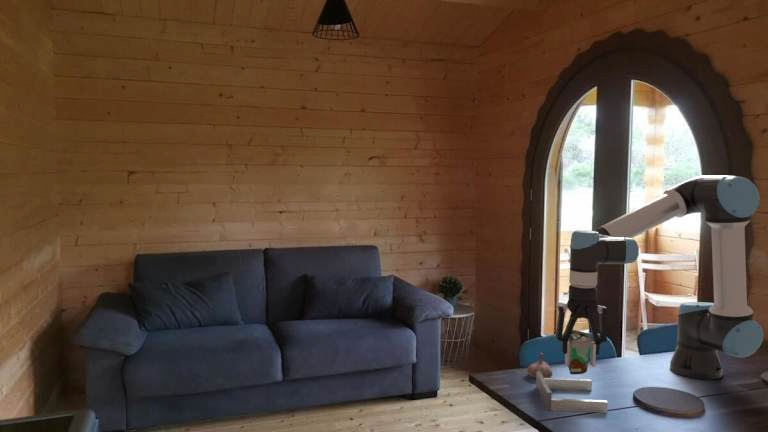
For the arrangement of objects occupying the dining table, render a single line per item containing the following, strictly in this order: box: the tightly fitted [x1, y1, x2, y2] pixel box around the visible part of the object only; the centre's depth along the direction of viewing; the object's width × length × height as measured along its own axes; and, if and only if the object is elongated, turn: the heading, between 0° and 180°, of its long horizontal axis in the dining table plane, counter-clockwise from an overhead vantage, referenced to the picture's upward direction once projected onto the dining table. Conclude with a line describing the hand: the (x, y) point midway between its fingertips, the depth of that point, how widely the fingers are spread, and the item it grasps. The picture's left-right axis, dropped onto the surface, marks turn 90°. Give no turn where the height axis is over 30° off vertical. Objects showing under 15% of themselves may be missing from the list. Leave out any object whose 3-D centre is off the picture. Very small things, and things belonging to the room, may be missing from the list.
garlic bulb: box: [527, 352, 553, 379], centre depth 190 cm, size 8×7×8 cm
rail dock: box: [535, 371, 609, 414], centre depth 171 cm, size 16×17×5 cm
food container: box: [567, 329, 593, 375], centre depth 170 cm, size 12×6×10 cm, turn 169°
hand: (579, 364), depth 170 cm, fingers closed on food container, 6 cm apart
